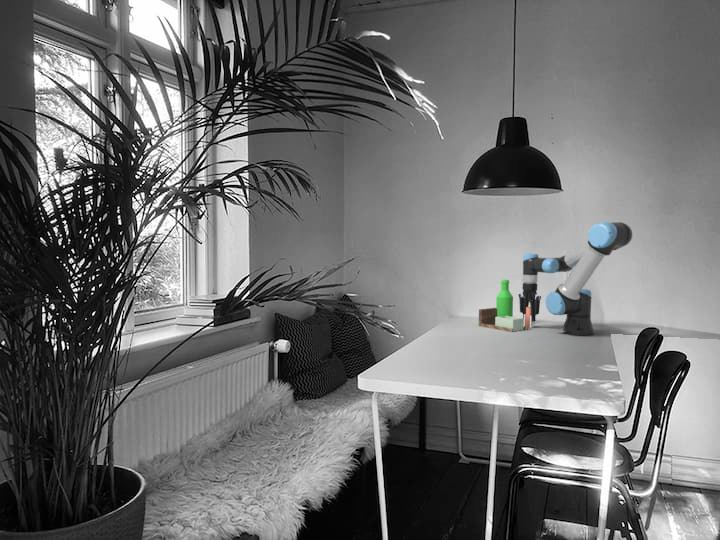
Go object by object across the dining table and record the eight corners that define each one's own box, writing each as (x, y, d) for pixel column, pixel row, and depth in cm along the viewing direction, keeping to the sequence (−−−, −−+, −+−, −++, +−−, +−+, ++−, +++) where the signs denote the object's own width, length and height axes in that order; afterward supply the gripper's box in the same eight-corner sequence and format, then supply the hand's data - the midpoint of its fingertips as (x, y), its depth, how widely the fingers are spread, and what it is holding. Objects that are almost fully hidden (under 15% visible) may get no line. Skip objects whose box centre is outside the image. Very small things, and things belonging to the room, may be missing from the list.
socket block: (523, 330, 328) (523, 318, 328) (512, 331, 324) (513, 319, 323) (505, 326, 338) (505, 315, 338) (495, 328, 333) (495, 316, 333)
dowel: (533, 329, 336) (534, 307, 335) (529, 330, 334) (529, 307, 334) (528, 329, 339) (529, 306, 338) (524, 329, 337) (524, 307, 336)
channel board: (527, 332, 329) (527, 312, 328) (511, 334, 322) (512, 314, 321) (494, 326, 347) (494, 307, 347) (478, 328, 341) (478, 309, 340)
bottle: (514, 324, 355) (515, 279, 353) (509, 326, 347) (510, 280, 346) (499, 323, 359) (500, 278, 358) (493, 325, 352) (494, 280, 350)
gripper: (547, 283, 330) (546, 328, 332) (522, 281, 344) (521, 324, 345) (537, 284, 326) (536, 329, 328) (513, 281, 340) (512, 325, 341)
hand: (528, 326), depth 337 cm, fingers closed on dowel, 3 cm apart
